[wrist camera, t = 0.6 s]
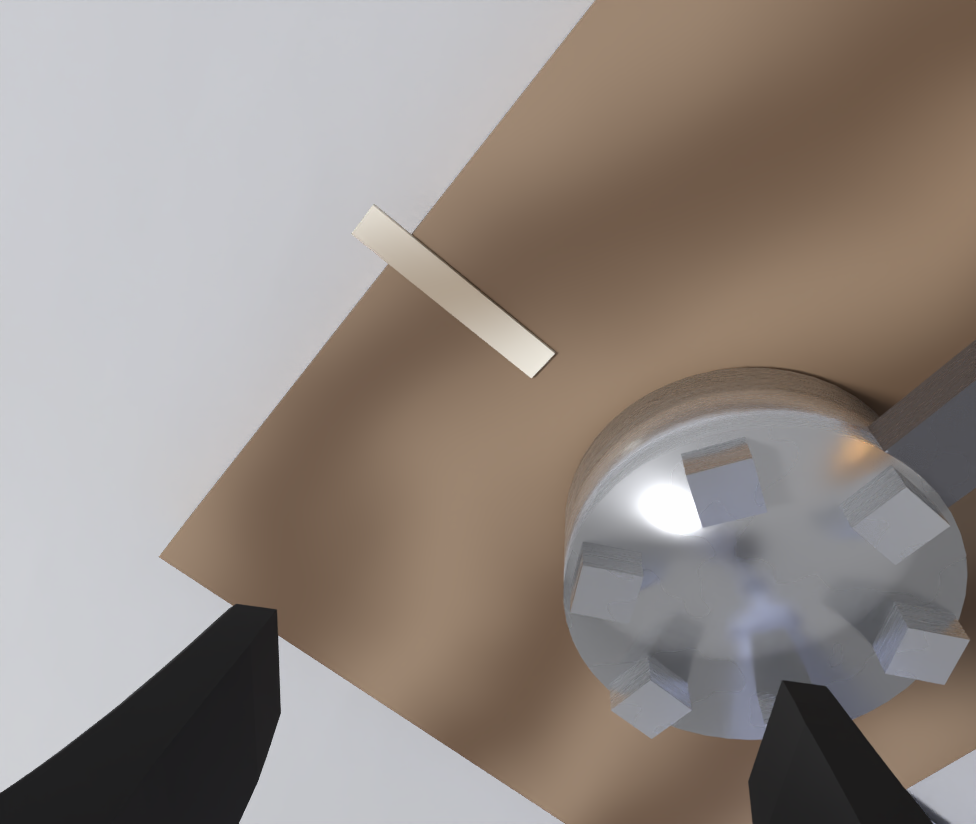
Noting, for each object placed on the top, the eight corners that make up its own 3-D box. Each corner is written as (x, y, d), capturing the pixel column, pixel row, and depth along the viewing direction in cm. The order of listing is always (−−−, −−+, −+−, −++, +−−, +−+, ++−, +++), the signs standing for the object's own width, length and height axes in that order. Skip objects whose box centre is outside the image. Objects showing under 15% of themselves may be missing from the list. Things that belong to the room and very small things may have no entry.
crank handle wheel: (728, 700, 22) (775, 915, 17) (497, 529, 20) (469, 711, 15) (1271, 318, 16) (1601, 467, 11) (1013, 34, 14) (1257, 51, 9)
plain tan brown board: (1396, 436, 19) (1465, 472, 17) (691, 865, 27) (697, 913, 26) (745, -288, 14) (764, -320, 13) (152, 504, 23) (124, 537, 22)
